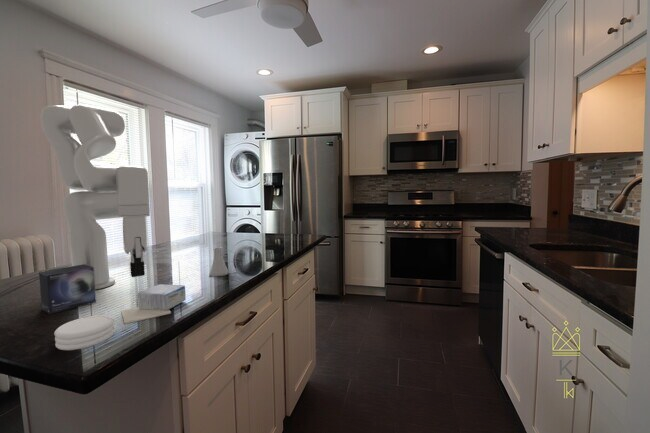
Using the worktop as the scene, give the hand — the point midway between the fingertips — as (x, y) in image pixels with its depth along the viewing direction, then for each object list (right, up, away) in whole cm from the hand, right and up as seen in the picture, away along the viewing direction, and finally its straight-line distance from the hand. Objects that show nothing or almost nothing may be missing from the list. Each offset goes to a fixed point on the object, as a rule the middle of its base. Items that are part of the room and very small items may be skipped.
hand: (137, 275), depth 88 cm
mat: (+7, -8, -8) cm, 13 cm away
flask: (+13, -5, +28) cm, 32 cm away
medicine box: (+5, -5, -3) cm, 7 cm away
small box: (-17, -8, -2) cm, 19 cm away
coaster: (+2, -10, -22) cm, 24 cm away
